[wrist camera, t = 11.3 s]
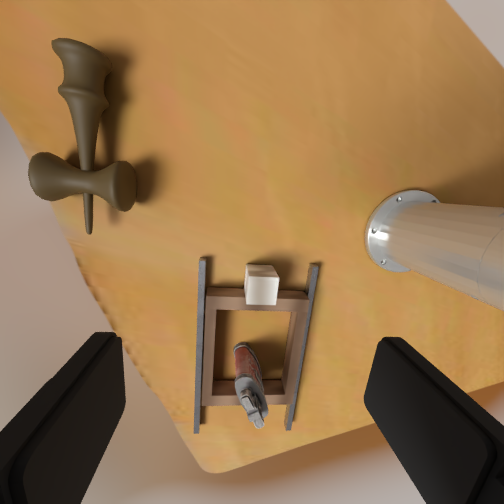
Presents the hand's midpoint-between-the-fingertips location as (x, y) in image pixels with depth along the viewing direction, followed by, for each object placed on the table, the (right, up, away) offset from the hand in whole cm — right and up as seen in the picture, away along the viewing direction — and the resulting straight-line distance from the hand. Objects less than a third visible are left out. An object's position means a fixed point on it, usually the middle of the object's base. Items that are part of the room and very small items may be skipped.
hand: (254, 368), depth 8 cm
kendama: (-20, +17, +21) cm, 33 cm away
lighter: (-1, -14, +32) cm, 35 cm away
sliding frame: (0, -9, +30) cm, 31 cm away
